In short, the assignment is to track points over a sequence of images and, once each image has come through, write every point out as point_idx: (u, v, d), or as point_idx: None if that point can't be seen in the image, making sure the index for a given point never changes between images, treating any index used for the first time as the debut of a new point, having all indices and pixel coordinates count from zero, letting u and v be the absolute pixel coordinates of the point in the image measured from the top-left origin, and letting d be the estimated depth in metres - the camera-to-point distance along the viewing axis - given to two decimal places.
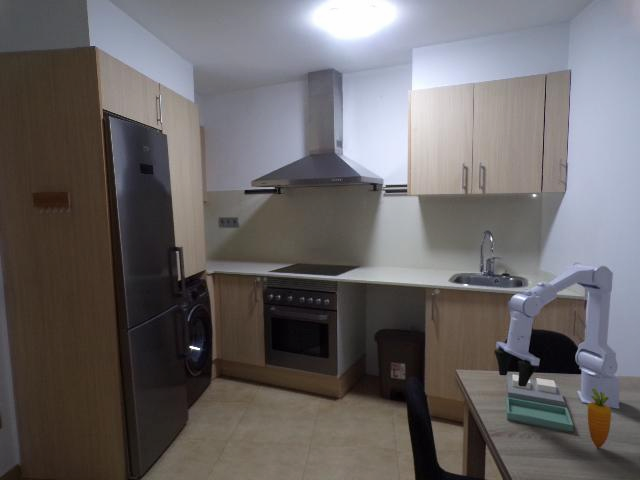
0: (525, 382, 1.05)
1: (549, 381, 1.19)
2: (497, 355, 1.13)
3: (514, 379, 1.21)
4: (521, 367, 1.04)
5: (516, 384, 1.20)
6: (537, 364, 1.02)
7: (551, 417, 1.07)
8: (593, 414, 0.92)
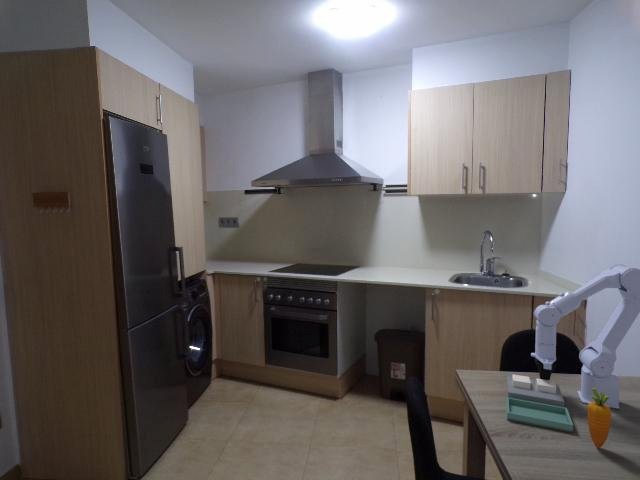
0: None
1: (549, 381, 1.19)
2: None
3: (514, 379, 1.21)
4: (537, 366, 1.21)
5: (516, 384, 1.20)
6: (549, 368, 1.15)
7: (551, 417, 1.07)
8: (593, 414, 0.92)
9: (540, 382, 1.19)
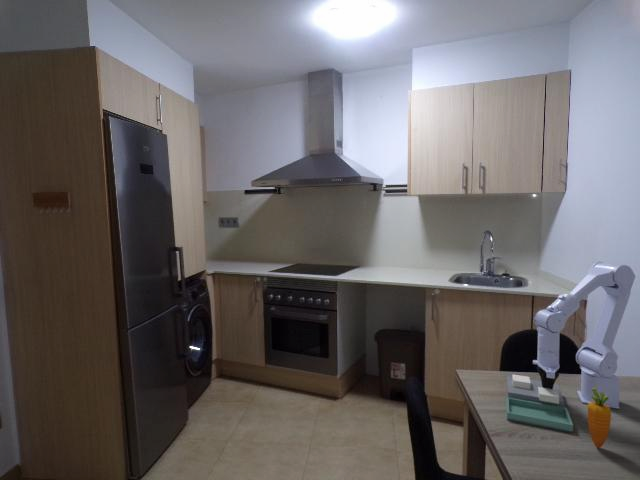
0: None
1: (552, 390, 1.13)
2: None
3: (514, 379, 1.21)
4: None
5: (516, 384, 1.20)
6: (552, 377, 1.08)
7: (551, 417, 1.07)
8: (593, 414, 0.92)
9: (542, 391, 1.13)
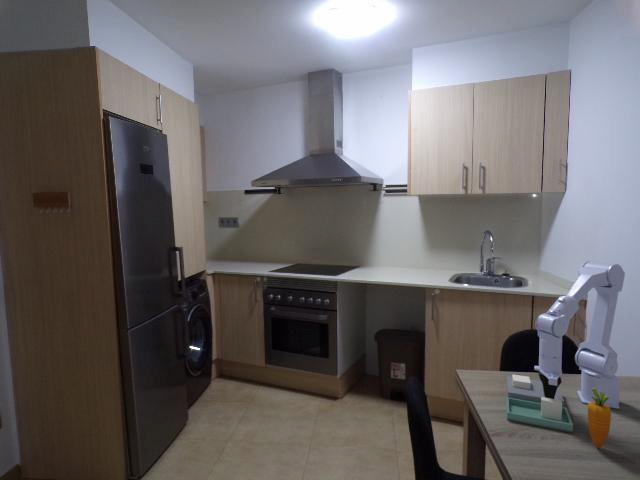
0: (551, 396, 1.10)
1: (556, 406, 1.06)
2: None
3: (514, 379, 1.21)
4: (541, 380, 1.11)
5: (516, 384, 1.20)
6: (555, 383, 1.04)
7: None
8: (593, 414, 0.92)
9: (545, 410, 1.07)
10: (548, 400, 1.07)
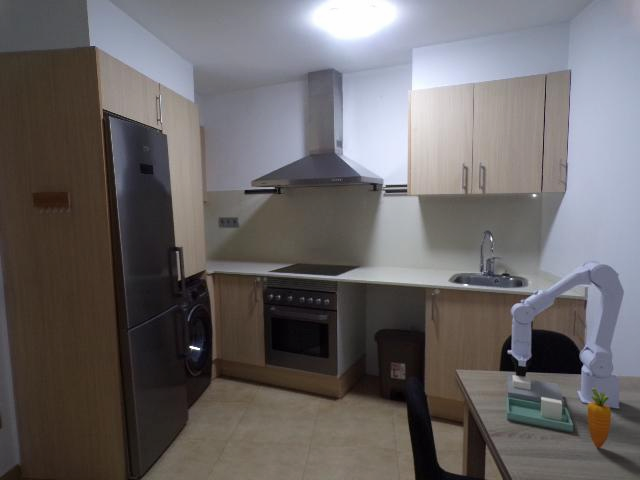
0: (522, 376, 1.24)
1: (556, 406, 1.06)
2: None
3: (514, 380, 1.21)
4: (513, 363, 1.24)
5: (517, 384, 1.20)
6: (523, 364, 1.17)
7: None
8: (593, 414, 0.92)
9: (545, 410, 1.07)
10: (548, 400, 1.07)
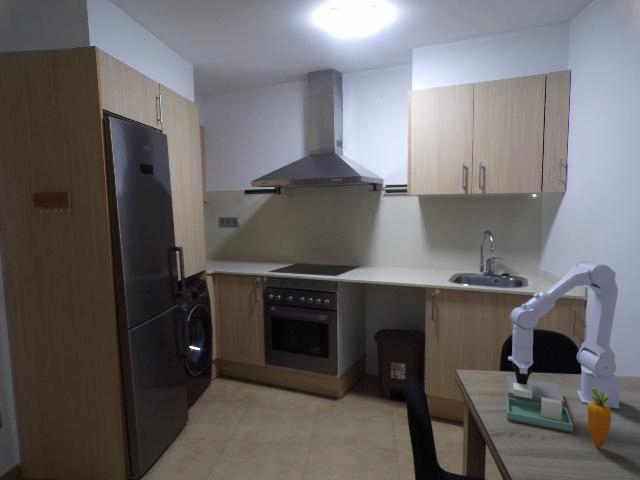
0: None
1: (556, 406, 1.06)
2: None
3: (515, 388, 1.15)
4: (514, 370, 1.18)
5: (517, 393, 1.14)
6: (525, 372, 1.12)
7: None
8: (593, 414, 0.92)
9: (545, 410, 1.07)
10: (548, 400, 1.07)
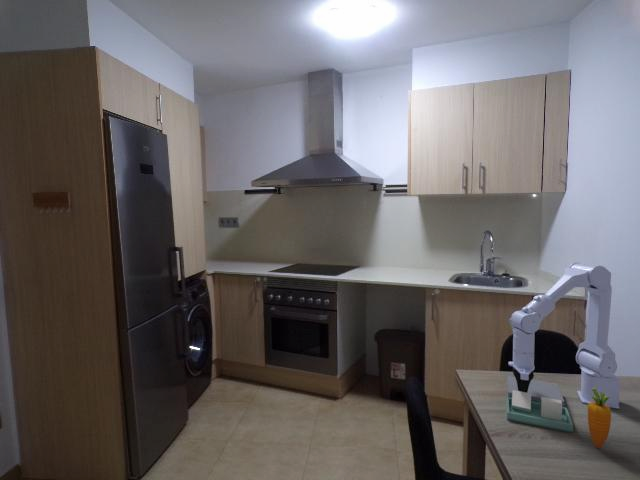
0: (524, 390, 1.14)
1: (556, 406, 1.06)
2: None
3: (513, 402, 1.12)
4: (514, 375, 1.14)
5: (516, 407, 1.12)
6: (526, 378, 1.08)
7: None
8: (593, 414, 0.92)
9: (545, 410, 1.07)
10: (548, 400, 1.07)
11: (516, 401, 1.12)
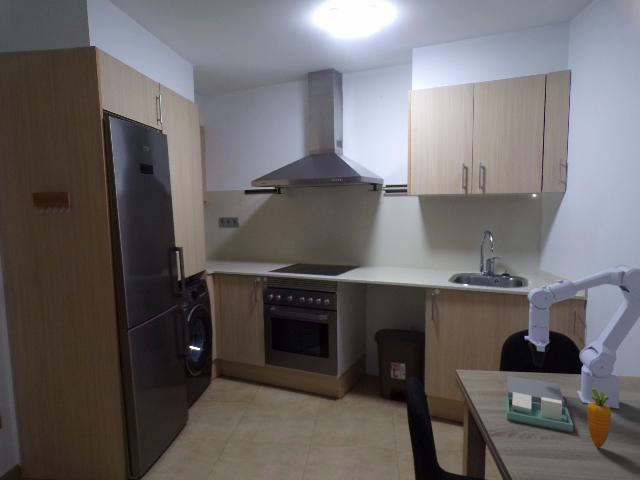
0: (539, 363, 1.21)
1: (556, 406, 1.06)
2: None
3: (514, 402, 1.12)
4: None
5: (516, 408, 1.11)
6: (542, 350, 1.15)
7: None
8: (593, 414, 0.92)
9: (545, 410, 1.07)
10: (548, 400, 1.07)
11: (517, 401, 1.12)
